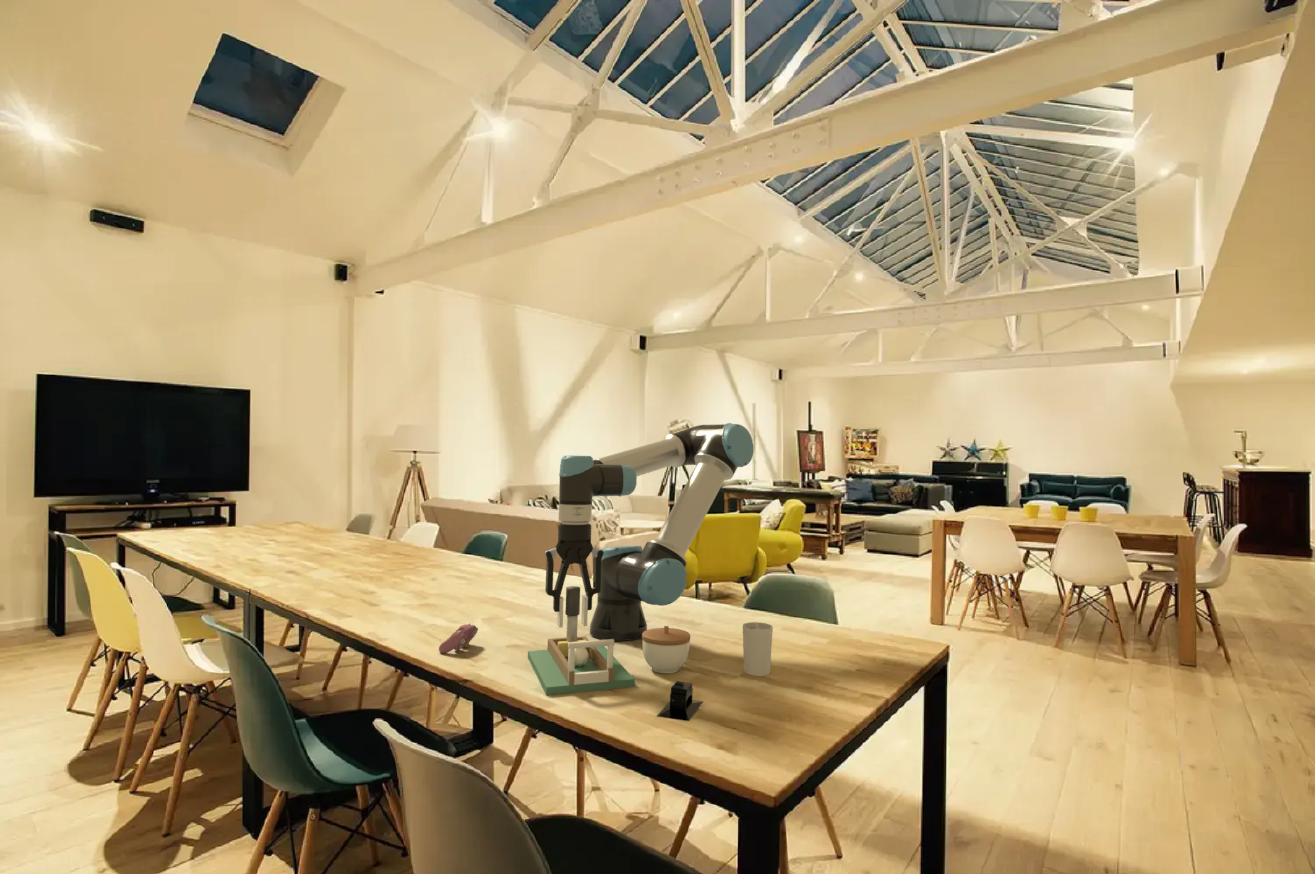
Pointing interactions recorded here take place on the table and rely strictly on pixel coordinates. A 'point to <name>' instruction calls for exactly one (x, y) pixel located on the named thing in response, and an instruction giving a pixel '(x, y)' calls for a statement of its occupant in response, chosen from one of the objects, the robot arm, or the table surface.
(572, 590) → the striker
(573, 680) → the pitch
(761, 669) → the drinking glass
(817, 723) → the table surface
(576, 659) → the ball
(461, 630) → the pink toy animal
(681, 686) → the black arch on base
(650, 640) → the lidded jar
